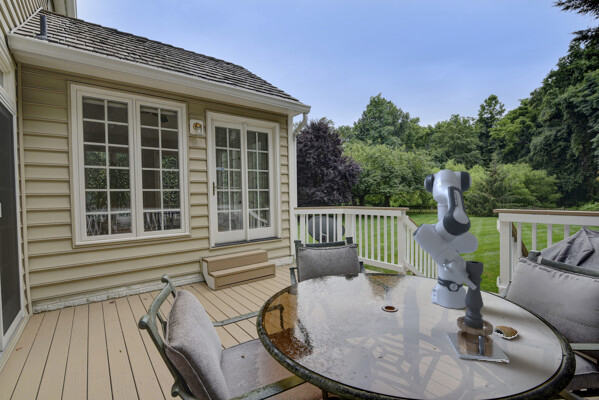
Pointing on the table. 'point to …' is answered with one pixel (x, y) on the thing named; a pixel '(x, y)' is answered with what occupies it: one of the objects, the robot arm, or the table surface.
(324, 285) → the table surface
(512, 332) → the pastry
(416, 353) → the table surface
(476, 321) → the candle holder
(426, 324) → the table surface
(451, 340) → the collar stand
